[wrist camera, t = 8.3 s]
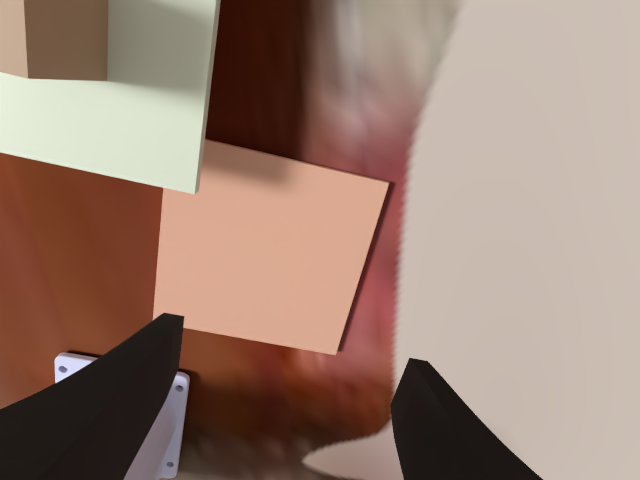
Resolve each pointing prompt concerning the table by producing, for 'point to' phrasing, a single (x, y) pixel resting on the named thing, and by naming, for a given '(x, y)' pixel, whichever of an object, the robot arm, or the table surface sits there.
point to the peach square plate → (266, 248)
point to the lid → (109, 85)
